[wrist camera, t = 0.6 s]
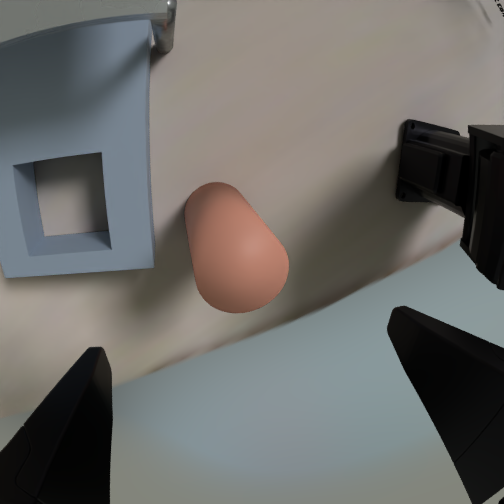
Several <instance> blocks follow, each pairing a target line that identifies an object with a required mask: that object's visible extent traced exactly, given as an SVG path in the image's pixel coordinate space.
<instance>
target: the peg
mask: <svg viewBox="0 0 504 504" xmlns="http://www.w3.org/2000/svg"><path fill="white" fill-rule="evenodd" d="M184 216H185V223H186V229H187V235H188V241H189V247H190V253H191V258H192V264H193V270H194V275H195V280H196V285H197V288H198V291H199V293H200V294H201V296H202V297H203V299H204V300H205V301H206V302H207V303H208V304H210V305H211V306H212V307H214V308H216V309H218V310H221V311H224V312H229V313H245V312H250V311H253V310H256V309H258V308H260V307H262V306H264V305H266V304H267V303H269V302H270V301H271V300H273V299H274V298H275V297H276V296H277V295H278V293H279V292H280V291H281V289H282V288H283V286H284V284H285V282H286V280H287V276H288V272H289V260H288V256H287V253H286V251H285V249H284V247H283V245H282V244H281V243H280V242H279V240H278V239H277V238H276V237H275V235H274V234H273V233H272V232H271V230H270V229H269V228H268V227H267V225H266V224H265V223H264V222H263V220H262V219H261V218H260V217H259V215H258V214H257V213H256V212H255V211H254V209H253V208H252V207H251V206H250V204H249V203H248V202H247V201H246V200H245V198H244V197H243V196H242V195H241V193H240V192H239V191H238V190H237V189H236V188H234V187H233V186H231V185H229V184H225V183H220V182H214V183H208V184H205V185H203V186H201V187H199V188H198V189H196V190H195V191H194V192H193V193H192V194H191V196H190V197H189V199H188V200H187V203H186V206H185V211H184Z"/></svg>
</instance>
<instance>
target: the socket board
mask: <svg viewBox="0 0 504 504" xmlns="http://www.w3.org/2000/svg"><path fill="white" fill-rule="evenodd" d="M151 38H152V25H151V20H137V21H126V22H117V23H109V24H102V25H95V26H89V27H83V28H77V29H72V30H67V31H62V32H58V33H53V34H49V35H45V36H41V37H37V38H33V39H30V40H26V41H23V42H19V43H16V44H13V45H10V46H6V47H3V48H0V262H1V266H2V269H3V272H4V276H5V278H14V277H29V276H44V275H59V274H74V273H88V272H102V271H117V270H130V269H144V268H154V261H155V236H154V224H153V211H152V195H151V175H150V145H149V84H150V56H151ZM97 152H102V164H103V177H104V189H105V199H106V209H107V217H108V225H109V231H101V232H89V233H78V234H67V235H57V236H46V237H44V232H43V227H42V221H41V216H40V210H39V204H38V197H37V190H36V182H35V174H34V165H33V162H34V161H40V160H46V159H52V158H59V157H66V156H73V155H81V154H89V153H97Z"/></svg>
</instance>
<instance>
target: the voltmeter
mask: <svg viewBox="0 0 504 504" xmlns="http://www.w3.org/2000/svg"><path fill="white" fill-rule="evenodd" d="M498 1H499V0H498ZM495 2H496V0H495ZM496 3H497V2H496ZM497 6H498V7H499V6H501V4H497ZM501 7H502V6H501ZM501 7H499V9H500V11H501V12H504V10H503V8H501ZM501 9H502V10H501ZM502 14H504V13H502ZM503 17H504V15H503Z"/></svg>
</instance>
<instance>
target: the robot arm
mask: <svg viewBox="0 0 504 504" xmlns="http://www.w3.org/2000/svg"><path fill="white" fill-rule="evenodd" d="M411 124H412V127H411V128H410V125H411ZM468 133H469V138H467V137H463V136H460V133H459V132H458V131H456V130H452V129H448V128H445V127H441V126H437V125H433V124H429V123H425V122H421V121H416V120H412V119H408V120H406V122H405V125H404V135H403V144H402V153H401V161H400V168H399V175H398V182H397V188H396V198H397V199H398V200H399V201H402V202H434V203H436V204H438V205H440V206H442V207H444V208H446V209H448V210H450V211H452V212H454V213H456V214H458V215H460V216H462V217H464V218H465V219H464V227H463V235H462V238H461V240H460V246H461V247H462V249H463V250H464V251H465V252H466V254H467V255H468V256H469V257H470V258H471V260H472V261H473V262H474V263H475V265H476V268H477V269H478V271H479V272H480V273H482V274H483V275H484V276H485V277H486V278H487V279H488V280H489V281H491V282H492V283H493V284H496V285H497V288H498V289H500V290H504V125H468ZM402 193H403V195H402V196H401V194H402ZM387 332H388V335H389V337H390V340H391V342H392V344H393V346H394V348H395V350H396V353H397V355H398V357H399V359H400V362H401V364H402V366H403V368H404V370H405V372H406V374H407V376H408V378H409V379H410V381H411V383H412V385H413V386H414V388H415V390H416V392H417V394H418V395H419V397H420V399H421V401H422V403H423V405H424V406H425V408H426V410H427V412H428V414H429V416H430V418H431V420H432V422H433V423H434V425H435V427H436V429H437V431H438V433H439V435H440V436H441V439H442V441H443V443H444V445H445V447H446V449H447V451H448V453H449V455H450V457H451V459H452V461H453V462H454V466H455V468H456V470H457V472H458V474H459V476H460V478H461V480H462V482H463V485H464V487H465V489H466V491H467V493H468V496H469V498H470V500H471V502H472V504H482V503H484V502H485V501H486V500H488V499H489V498H490V497H492V496H493V495H494V494H496V493H497V492H498V491H500V490H501V489H502V488H503V487H504V348H502V347H500V346H498V345H495V344H493V343H489V342H488V341H486V340H483V339H481V338H479V337H477V336H474V335H472V334H470V333H467V332H465V331H462V330H460V329H458V328H456V327H454V326H451V325H449V324H446V323H444V322H442V321H440V320H437V319H435V318H432V317H430V316H428V315H425V314H423V313H421V312H418V311H416V310H414V309H411V308H409V307H407V306H400V307H395V308H394V309H393V310H392V313H391V316H390V320H389V323H388V326H387ZM112 425H113V411H112V372H111V367H110V364H109V362H108V359H107V356H106V353H105V351H104V349H103V348H102V347H89V348H88V349H87V350H86V351H85V352H84V353H83V354H82V356H81V357H80V358H79V359H78V360H77V361H76V362H75V364H74V365H73V366H72V367H71V368H70V369H69V370H68V372H67V373H66V374H65V375H64V376H63V377H62V379H61V380H60V381H59V382H58V383H57V384H56V386H55V387H54V388H53V389H52V390H51V391H50V393H49V394H48V395H47V396H46V397H45V399H44V400H43V401H42V402H41V403H40V405H39V406H38V407H37V408H36V409H35V411H34V412H33V413H32V414H31V416H30V417H29V418H28V419H27V421H26V422H25V423H24V426H22V427H21V428H20V429H19V430H18V432H17V433H16V434H15V435H14V437H13V438H12V439H11V440H10V442H9V443H8V444H7V445H6V446H5V447H4V448H3V450H1V452H0V504H110V462H111V440H112ZM498 504H504V497H503V498H502V499H501V500H500V501H499V503H498Z"/></svg>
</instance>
